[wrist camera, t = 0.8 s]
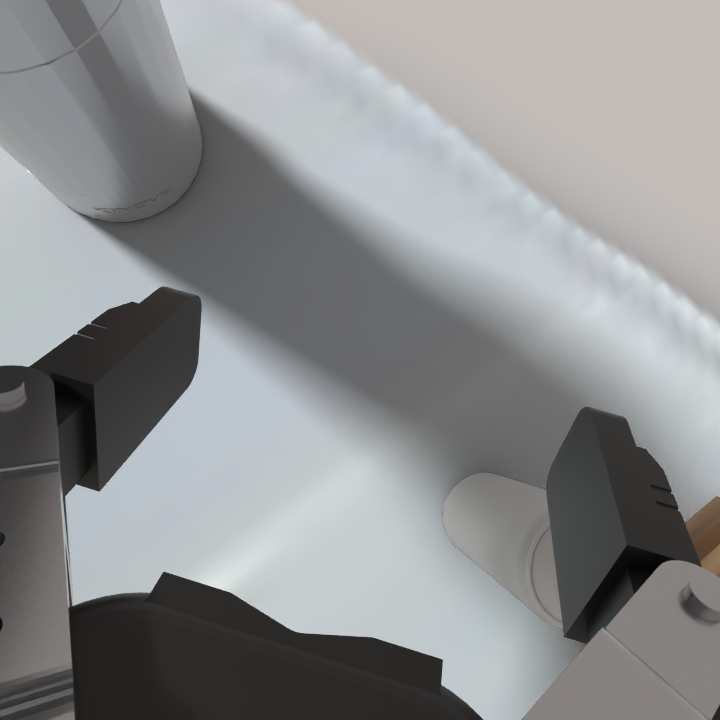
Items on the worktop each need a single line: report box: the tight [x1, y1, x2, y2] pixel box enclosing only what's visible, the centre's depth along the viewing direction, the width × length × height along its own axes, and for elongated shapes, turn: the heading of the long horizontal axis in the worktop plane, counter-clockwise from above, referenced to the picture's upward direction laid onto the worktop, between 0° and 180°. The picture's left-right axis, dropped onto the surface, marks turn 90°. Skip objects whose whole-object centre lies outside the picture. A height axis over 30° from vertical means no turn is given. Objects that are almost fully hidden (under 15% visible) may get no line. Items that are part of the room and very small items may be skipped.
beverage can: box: [442, 472, 563, 629], centre depth 27 cm, size 5×5×12 cm
